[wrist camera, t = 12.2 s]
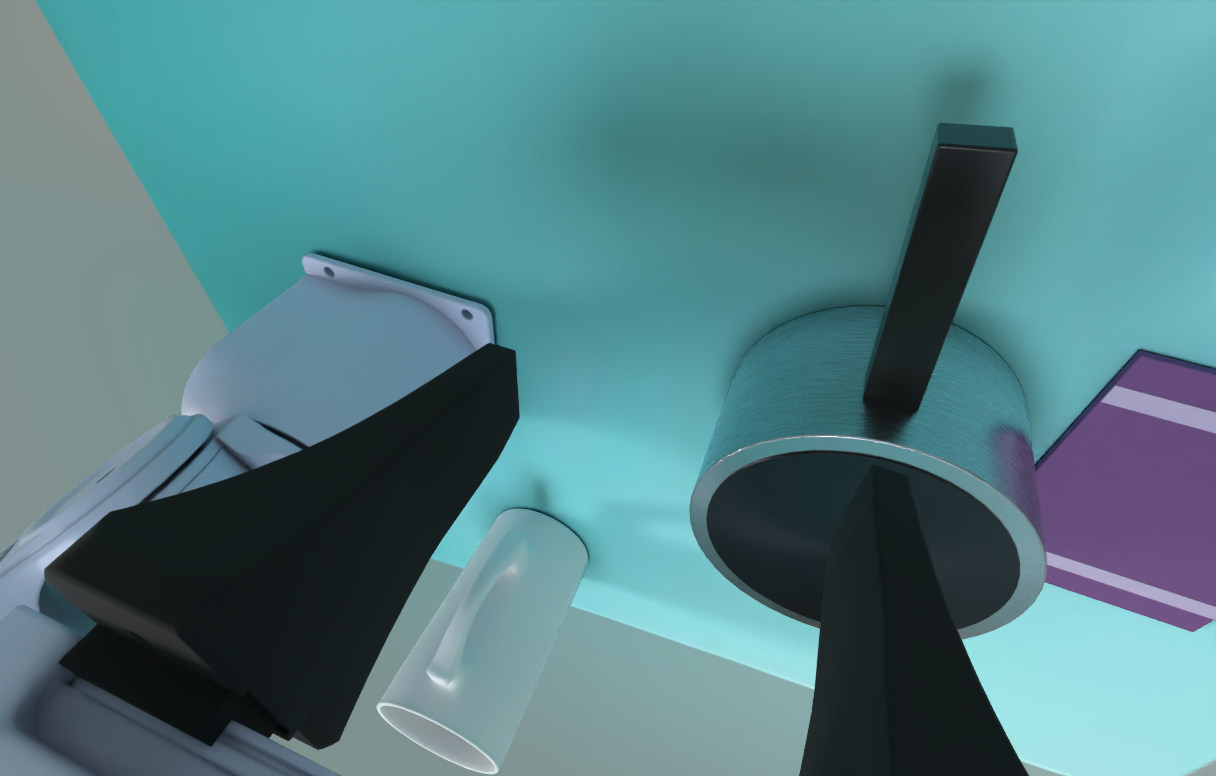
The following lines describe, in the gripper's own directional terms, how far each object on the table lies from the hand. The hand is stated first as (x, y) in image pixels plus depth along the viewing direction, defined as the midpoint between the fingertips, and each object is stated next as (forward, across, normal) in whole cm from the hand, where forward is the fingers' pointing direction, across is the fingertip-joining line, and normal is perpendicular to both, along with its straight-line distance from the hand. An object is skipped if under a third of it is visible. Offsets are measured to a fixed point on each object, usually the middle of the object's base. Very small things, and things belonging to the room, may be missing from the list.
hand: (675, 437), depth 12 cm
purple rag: (+10, -15, +7) cm, 20 cm away
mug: (+10, +8, +23) cm, 26 cm away
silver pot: (+10, -5, +4) cm, 12 cm away
